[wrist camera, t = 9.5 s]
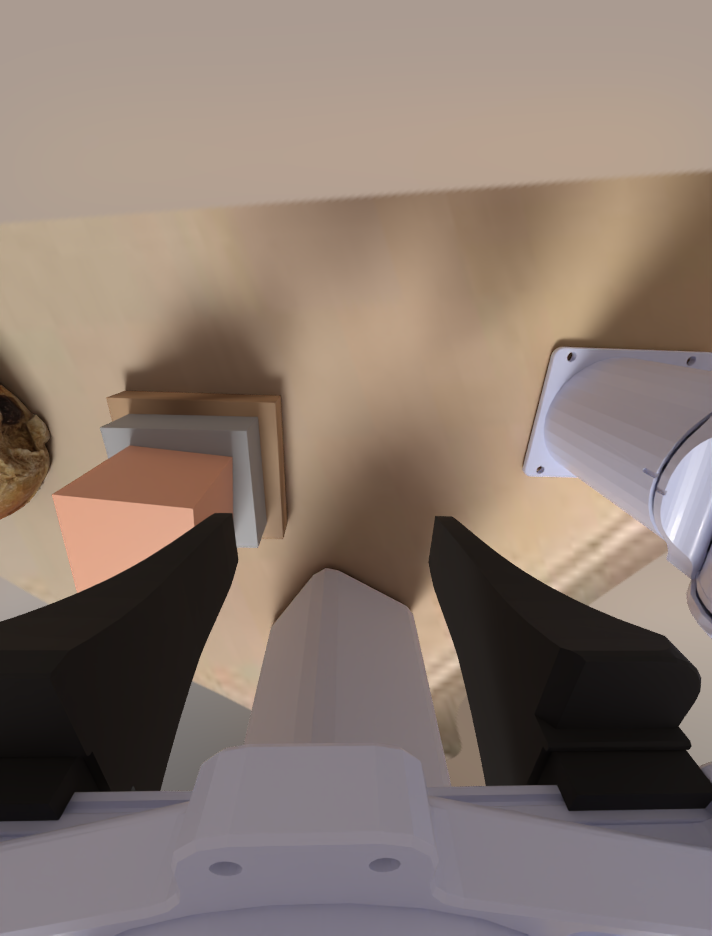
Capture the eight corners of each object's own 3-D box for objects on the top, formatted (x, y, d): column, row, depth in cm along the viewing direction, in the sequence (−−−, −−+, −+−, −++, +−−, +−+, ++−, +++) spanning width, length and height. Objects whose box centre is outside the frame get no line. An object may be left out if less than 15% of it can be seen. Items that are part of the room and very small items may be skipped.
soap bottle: (323, 556, 26) (146, 2567, 3) (418, 606, 28) (746, 1937, 5) (264, 630, 29) (-59, 1913, 6) (354, 669, 31) (381, 1699, 8)
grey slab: (257, 416, 19) (246, 430, 17) (266, 523, 22) (257, 547, 20) (129, 413, 19) (99, 427, 17) (154, 522, 22) (132, 546, 20)
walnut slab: (282, 393, 21) (275, 402, 19) (288, 518, 25) (282, 539, 23) (131, 388, 21) (106, 397, 19) (160, 516, 25) (141, 536, 22)
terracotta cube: (233, 538, 20) (199, 607, 15) (141, 529, 19) (78, 597, 15) (232, 457, 18) (192, 508, 13) (129, 445, 17) (52, 494, 13)
